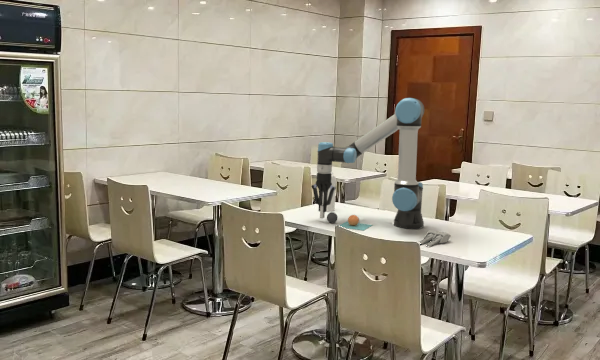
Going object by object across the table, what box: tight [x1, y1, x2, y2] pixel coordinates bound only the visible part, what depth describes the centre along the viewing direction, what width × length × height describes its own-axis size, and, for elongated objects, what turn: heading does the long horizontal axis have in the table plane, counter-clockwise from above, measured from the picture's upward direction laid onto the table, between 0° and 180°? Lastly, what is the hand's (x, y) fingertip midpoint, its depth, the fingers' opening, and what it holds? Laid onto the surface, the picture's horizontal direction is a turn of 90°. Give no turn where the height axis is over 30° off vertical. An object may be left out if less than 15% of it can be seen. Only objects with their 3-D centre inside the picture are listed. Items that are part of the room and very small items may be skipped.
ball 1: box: [326, 211, 338, 224], centre depth 301 cm, size 6×6×6 cm
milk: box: [322, 172, 337, 213], centre depth 332 cm, size 6×6×22 cm
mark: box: [339, 221, 373, 231], centre depth 296 cm, size 14×14×1 cm
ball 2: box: [347, 214, 360, 226], centre depth 296 cm, size 6×6×6 cm
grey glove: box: [419, 229, 451, 247], centre depth 269 cm, size 10×20×5 cm, turn 139°
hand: (322, 217), depth 303 cm, fingers closed
